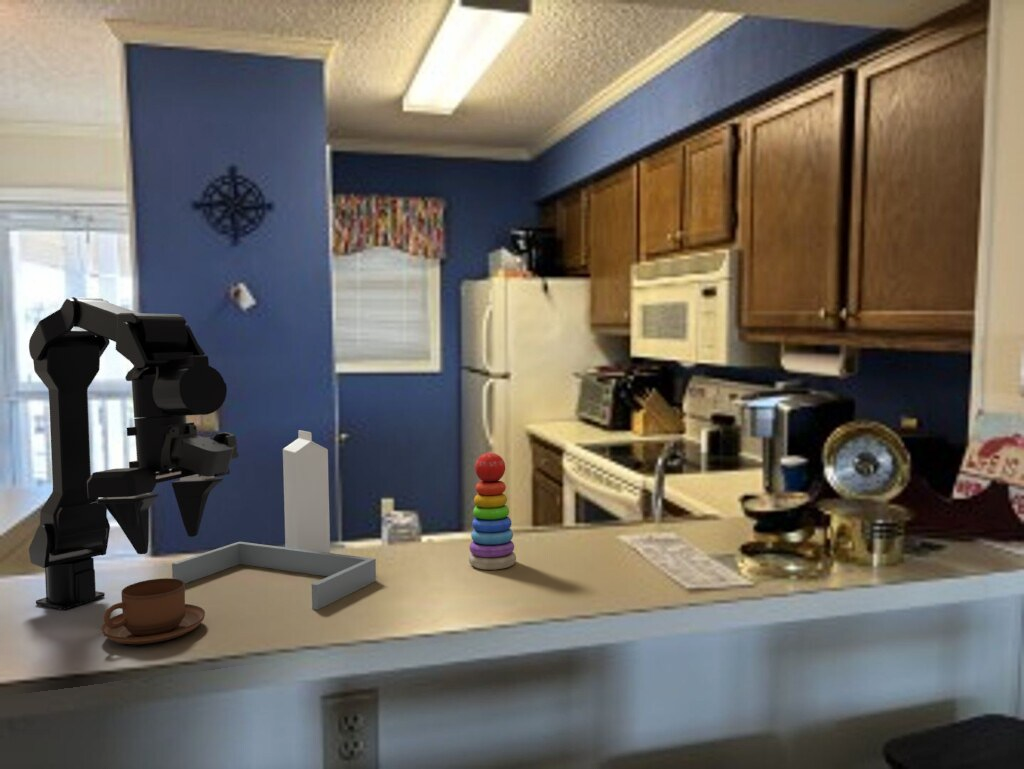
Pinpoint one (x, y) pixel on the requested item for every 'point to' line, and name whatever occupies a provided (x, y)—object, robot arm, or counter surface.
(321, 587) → the u-shaped low fence
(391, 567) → the counter surface
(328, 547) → the milk
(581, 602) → the counter surface
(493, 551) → the stacking toy
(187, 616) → the cup and saucer
